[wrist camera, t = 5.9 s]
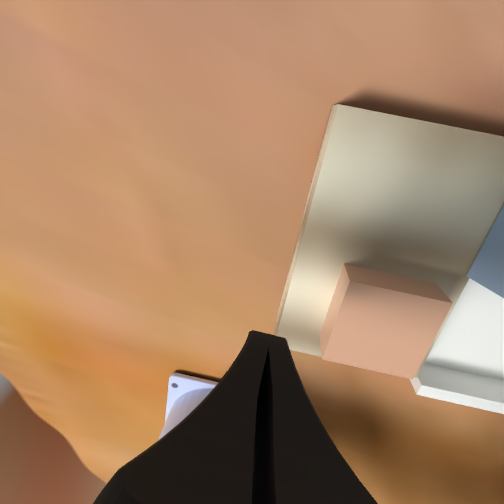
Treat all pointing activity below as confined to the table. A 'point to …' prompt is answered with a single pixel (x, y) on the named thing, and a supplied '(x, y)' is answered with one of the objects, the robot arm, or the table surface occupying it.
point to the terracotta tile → (382, 321)
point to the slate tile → (491, 259)
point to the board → (390, 211)
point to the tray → (468, 353)
